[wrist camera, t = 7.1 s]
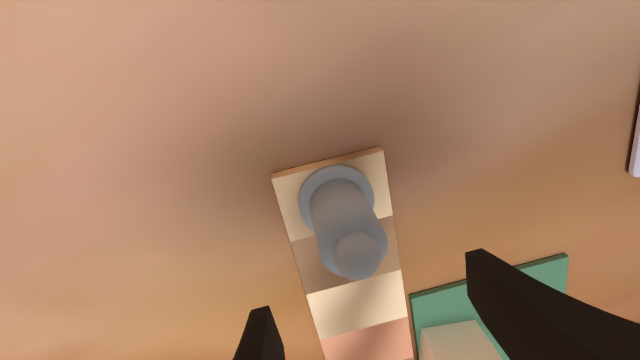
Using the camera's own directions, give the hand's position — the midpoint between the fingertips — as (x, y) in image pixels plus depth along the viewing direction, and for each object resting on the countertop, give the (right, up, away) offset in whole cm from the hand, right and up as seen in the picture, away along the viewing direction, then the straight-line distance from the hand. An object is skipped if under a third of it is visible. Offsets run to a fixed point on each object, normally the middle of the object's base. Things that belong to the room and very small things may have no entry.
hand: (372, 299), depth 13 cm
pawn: (-1, +3, +7) cm, 8 cm away
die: (+7, -8, +14) cm, 17 cm away
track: (+1, -3, +11) cm, 12 cm away
